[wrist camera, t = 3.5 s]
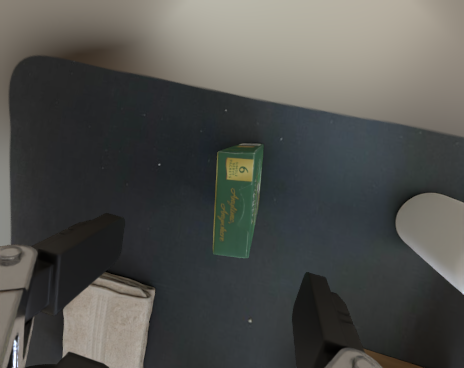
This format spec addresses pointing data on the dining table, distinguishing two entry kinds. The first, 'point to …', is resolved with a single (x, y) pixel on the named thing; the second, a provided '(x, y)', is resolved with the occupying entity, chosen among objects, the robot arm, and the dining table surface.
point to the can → (435, 233)
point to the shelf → (389, 361)
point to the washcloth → (109, 322)
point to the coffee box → (237, 198)
